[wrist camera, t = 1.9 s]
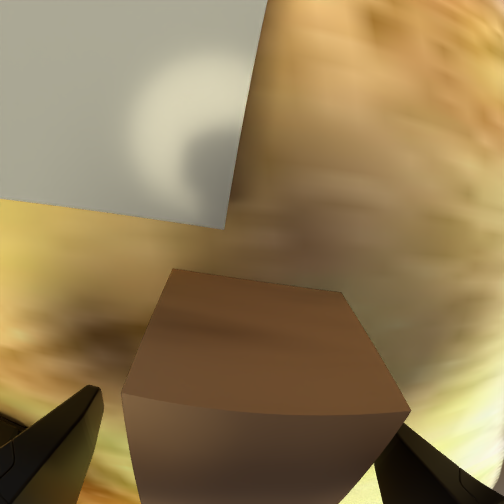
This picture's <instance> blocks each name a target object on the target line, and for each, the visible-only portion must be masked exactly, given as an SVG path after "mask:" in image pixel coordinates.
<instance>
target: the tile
mask: <svg viewBox="0 0 504 504" xmlns="http://www.w3.org/2000/svg"><path fill="white" fill-rule="evenodd" d="M266 5H267V0H0V199H8V200H16V201H24V202H32V203H40V204H47V205H55V206H63V207H70V208H78V209H85V210H92V211H100V212H107V213H114V214H121V215H128V216H135V217H142V218H149V219H156V220H163V221H169V222H176V223H183V224H189V225H196V226H203V227H209V228H216V229H222V230H224V227H225V221H226V215H227V209H228V203H229V197H230V191H231V185H232V179H233V173H234V168H235V162H236V156H237V151H238V145H239V140H240V134H241V129H242V123H243V118H244V113H245V107H246V102H247V97H248V92H249V87H250V82H251V77H252V71H253V67H254V62H255V57H256V52H257V47H258V42H259V37H260V33H261V28H262V23H263V19H264V14H265V9H266Z"/></svg>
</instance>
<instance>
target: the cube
mask: <svg viewBox="0 0 504 504" xmlns="http://www.w3.org/2000/svg"><path fill="white" fill-rule="evenodd" d="M121 396H122V404H123V412H124V419H125V426H126V432H127V438H128V444H129V450H130V455H131V460H132V465H133V470H134V475H135V480H136V484H137V488H138V493H139V497H140V501H141V504H338V503H339V502H340V501H341V500H342V499H343V498H344V497H345V496H346V495H347V494H348V493H349V492H350V490H351V489H352V488H353V487H354V486H355V485H356V484H357V482H358V481H359V480H360V479H361V478H362V477H363V475H364V474H365V473H366V472H367V471H368V469H369V468H370V467H371V466H372V464H373V463H374V462H375V461H376V459H377V458H378V457H379V456H380V454H381V453H382V452H383V450H384V449H385V448H386V446H387V445H388V444H389V442H390V441H391V440H392V438H393V437H394V435H395V434H396V433H397V431H398V430H399V428H400V427H401V425H402V424H403V422H404V421H405V420H406V418H407V417H408V415H409V414H410V412H411V409H410V407H409V405H408V404H407V402H406V400H405V398H404V397H403V395H402V393H401V391H400V389H399V388H398V386H397V384H396V382H395V381H394V379H393V377H392V376H391V374H390V372H389V370H388V369H387V367H386V365H385V364H384V362H383V360H382V358H381V357H380V355H379V353H378V352H377V350H376V348H375V347H374V345H373V343H372V342H371V340H370V338H369V337H368V335H367V333H366V332H365V330H364V328H363V327H362V325H361V324H360V322H359V320H358V319H357V317H356V315H355V314H354V312H353V311H352V309H351V307H350V306H349V304H348V303H347V301H346V299H345V298H344V296H343V295H342V293H341V292H334V291H326V290H318V289H310V288H303V287H295V286H288V285H280V284H273V283H266V282H259V281H252V280H245V279H238V278H231V277H225V276H218V275H211V274H205V273H198V272H192V271H185V270H179V269H172V272H171V274H170V276H169V278H168V280H167V283H166V285H165V287H164V289H163V292H162V294H161V296H160V299H159V301H158V303H157V305H156V308H155V310H154V312H153V315H152V317H151V319H150V322H149V324H148V326H147V329H146V331H145V334H144V336H143V338H142V341H141V343H140V346H139V348H138V351H137V353H136V356H135V358H134V361H133V363H132V366H131V368H130V371H129V373H128V376H127V379H126V381H125V384H124V386H123V389H122V392H121Z"/></svg>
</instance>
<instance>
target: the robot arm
mask: <svg viewBox="0 0 504 504" xmlns="http://www.w3.org/2000/svg"><path fill="white" fill-rule="evenodd" d="M103 411H104V403H103V397H102V391H101V389H100V388H99V387H96V386H92V385H87V386H85V387H84V388H83V389H81V390H80V391H79V392H77V393H76V394H74V395H73V396H72V397H70V398H69V399H68V400H66V401H65V402H63V403H62V404H61V405H59V406H58V407H57V408H55V409H54V410H52V411H51V412H50V413H48V414H47V415H45V416H44V417H43V418H41V419H40V420H38V421H37V422H36V423H34V424H33V425H32V426H30V427H29V428H27V429H26V428H24V427H22V426H19V425H17V424H15V423H13V422H11V421H9V420H6V419H4V418H2V417H0V504H76V503H77V500H78V497H79V494H80V491H81V488H82V485H83V482H84V479H85V476H86V473H87V470H88V467H89V464H90V462H91V459H92V456H93V453H94V450H95V445H96V441H97V437H98V432H99V428H100V424H101V420H102V416H103ZM374 466H375V471H376V476H377V480H378V484H379V488H380V493H381V497H382V501H383V504H504V496H502V495H501V494H499V493H497V492H496V491H494V490H492V489H491V488H489V487H487V486H486V485H484V484H483V483H481V482H479V481H478V480H476V479H475V478H473V477H472V476H471V475H469V474H468V473H467V472H465V471H464V470H463V469H461V468H459V466H457V465H456V464H455V463H454V462H452V461H451V460H450V459H449V458H447V457H446V456H445V455H443V454H442V453H441V452H440V451H438V450H437V449H436V448H435V447H433V446H432V445H431V444H430V443H428V442H427V441H426V440H425V439H423V438H422V437H421V436H420V435H418V434H417V433H416V432H415V431H413V430H412V429H411V428H410V427H408V426H407V425H406V424H405V423H403V424H402V425H401V427H400V428H399V430H398V431H397V433H396V434H395V435H394V437H393V438H392V440H391V441H390V442H389V444H388V445H387V446H386V448H385V449H384V450H383V452H382V453H381V454H380V456H379V457H378V458H377V459H376V461H375V462H374Z"/></svg>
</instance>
